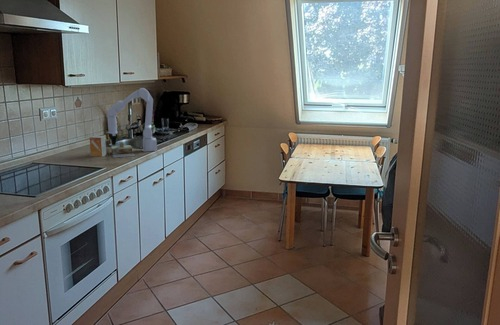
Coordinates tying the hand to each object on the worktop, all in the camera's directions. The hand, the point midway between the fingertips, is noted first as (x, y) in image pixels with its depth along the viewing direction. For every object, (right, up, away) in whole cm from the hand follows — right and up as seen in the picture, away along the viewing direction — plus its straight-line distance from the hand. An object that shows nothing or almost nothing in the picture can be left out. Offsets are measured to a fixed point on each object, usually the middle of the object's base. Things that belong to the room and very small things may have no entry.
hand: (113, 144), depth 287 cm
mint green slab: (+7, -2, -3) cm, 8 cm away
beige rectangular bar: (-3, +1, +6) cm, 7 cm away
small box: (-6, -8, -11) cm, 15 cm away
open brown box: (+7, -6, -2) cm, 9 cm away
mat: (+11, -8, -12) cm, 18 cm away
